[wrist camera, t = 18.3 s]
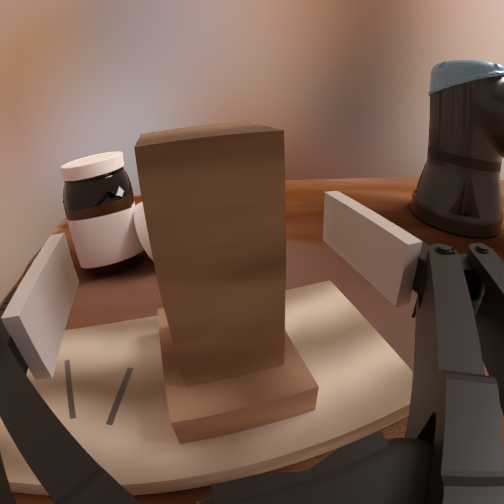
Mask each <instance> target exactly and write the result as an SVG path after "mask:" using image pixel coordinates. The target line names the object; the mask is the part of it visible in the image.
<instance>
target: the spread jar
mask: <svg viewBox="0 0 504 504" xmlns="http://www.w3.org/2000/svg"><path fill="white" fill-rule="evenodd" d="M123 167H124V160H123V154H122V152H120V151H116V152H106V153H101V154H95V155H91V156H87V157H83V158H80V159H77V160H74V161H71V162H69V163H66V164H64V165H62V166H61V167H60V168H61V173H62V178H63V181H64V182H65V185H64V189H63V204H64V209H65V213H66V217H67V221H68V225H69V229H70V233H71V237H72V240H73V244H74V248H75V251H76V255H77V258H78V261H79V263H80V266H81V268H82V270H83V271H84V272H86V273H88V274H92V275H109V274H114V273H117V272H120V271H123V270H125V269H127V268H129V267H131V266H132V265H134V264H135V263H136V262H137V261H138V260H139V259H140V258H141V257H142V255H143V248H144V250H145V252H146V253H147V254H148V256H149V257H150V258H151V259H152V260H153V256H152V251H151V246H150V241H149V236H148V231H147V225H146V220H145V214H144V208H143V202H141V203H139V204H137V205H136V206H135V200H134V195H133V190H132V186H131V182H130V179H129V177H128V175H127V173H126V172H125V170H124V169H123Z"/></svg>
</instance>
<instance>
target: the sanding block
mask: <svg viewBox="0 0 504 504" xmlns="http://www.w3.org/2000/svg"><path fill="white" fill-rule="evenodd" d="M135 155H136V163H137V170H138V177H139V184H140V190H141V196H142V202H143V208H144V214H145V220H146V225H147V231H148V236H149V241H150V246H151V251H152V256H153V261H154V266H155V271H156V275H157V280H158V284H159V289H160V293H161V297H162V301H163V306H164V308H158V309H157V313H158V325H159V337H160V347H161V356H162V365H163V374H164V382H165V389H166V397H167V404H168V411H169V417H170V423H171V425H172V428H173V430H174V432H175V434H176V436H177V439H178V441H179V443H180V444H183V443H188V442H194V441H199V440H204V439H209V438H214V437H219V436H224V435H228V434H232V433H237V432H241V431H245V430H249V429H253V428H257V427H260V426H264V425H268V424H271V423H275V422H278V421H282V420H285V419H289V418H292V417H295V416H298V415H301V414H304V413H308V412H311V411H314V410H315V408H316V402H317V396H318V389H319V386H318V384H317V383H316V381H315V379H314V378H313V376H312V374H311V373H310V371H309V369H308V368H307V366H306V364H305V363H304V361H303V359H302V358H301V356H300V354H299V353H298V351H297V349H296V347H295V346H294V344H293V342H292V341H291V339H290V337H289V336H288V334H287V332H286V331H285V288H286V220H285V160H284V159H285V156H284V130H280V129H275V128H271V127H267V126H262V125H258V124H253V123H249V122H237V123H225V124H215V125H204V126H196V127H187V128H180V129H173V130H165V131H158V132H152V133H146V134H141V135H140V137H139V139H138V141H137V143H136V145H135Z"/></svg>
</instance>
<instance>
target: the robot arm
mask: <svg viewBox="0 0 504 504" xmlns="http://www.w3.org/2000/svg"><path fill="white" fill-rule="evenodd" d="M429 96H430V125H429V141H428V155H427V162H426V164H425V167H424V169H423V171H422V174H421V176H420V179H419V182H418V185H417V188H416V189H415V190H414V192H413V195H412V202H411V211H412V212H413V214H414V215H415V216H416V217H418V218H419V219H420V220H422V221H424V222H426V223H427V224H429V225H432V226H434V227H436V228H439V229H442V230H444V231H448V232H451V233H455V234H459V235H463V236H469V237H481V238H484V237H492V236H495V235H497V234H499V233H500V230H501V226H502V222H503V204H502V193H501V184H500V170H501V162H502V158H503V157H504V67H503V66H501V65H499V64H495V63H491V62H485V61H476V60H453V61H445V62H441V63H438V64H437V65H435V66H434V67H433V68H432V71H431V81H430V92H429ZM323 241H324V242H325V243H326V244H328V245H329V246H330V247H331V248H332V249H333V250H334V251H335V252H336V253H338V254H339V255H340V256H341V257H342V258H343V259H344V260H345V261H346V262H348V263H349V264H350V265H351V266H352V267H353V268H354V269H355V270H356V271H357V272H359V273H360V274H361V275H362V276H363V277H364V278H365V279H366V280H367V281H368V282H369V283H370V284H371V285H373V286H374V287H375V288H376V289H377V290H378V291H379V292H380V293H381V294H382V295H383V296H384V297H385V298H386V299H387V300H388V301H390V302H391V303H392V304H393V305H394V306H395V307H397V306H400V305H403V304H406V303H409V301H410V297H411V293H412V289H413V290H414V291H415V292H416V293H417V294H418V296H417V300H416V304H415V308H414V311H413V315H412V317H415V315H416V330H415V353H414V368H413V380H412V391H411V400H410V409H409V416H408V424H407V430H406V434H405V437H404V438H393V439H385V437H384V436H383V435H382V433H381V432H380V430H379V431H377V432H375V433H373V434H370V435H368V436H366V437H364V438H361V439H359V440H357V441H354V442H352V443H349V444H347V445H344V446H342V447H341V448H340V449H338V450H337V451H335V452H334V453H332V454H331V455H329V456H328V457H326V458H325V459H323V460H322V461H320V462H319V463H317V464H316V465H314V466H313V467H311V468H309V469H308V470H305V471H300V472H290V473H277V474H258V475H251V476H247V477H243V478H239V479H235V480H230V481H225V482H220V483H215V484H210V488H211V492H212V495H210V496H208V497H206V498H204V499H202V500H200V501H198V502H197V503H195V504H504V455H503V431H502V418H501V409H502V411H503V414H504V262H503V260H502V259H501V258H500V257H499V256H498V255H497V254H496V252H495V251H494V250H493V249H491V248H490V247H488V246H487V245H486V244H483V243H472V244H470V245H469V248H468V252H467V254H458V252H457V251H456V250H455V249H454V248H453V247H451V246H448V245H446V244H439V243H435V244H431V245H428V244H427V243H425V242H424V241H422V240H420V239H419V238H417V237H416V236H413V234H411V233H409V232H407V231H406V230H405V229H403V228H401V227H400V226H397V225H395V224H394V223H392V222H390V221H389V220H387V219H385V218H384V217H382V216H380V215H379V214H377V213H375V212H374V211H372V210H370V209H368V208H367V207H365V206H363V205H362V204H360V203H358V202H356V201H355V200H353V199H351V198H349V197H348V196H346V195H344V194H342V193H340V192H339V191H330V192H325V195H324V223H323ZM78 285H79V280H78V277H77V274H76V271H75V268H74V264H73V261H72V258H71V255H70V251H69V248H68V244H67V241H66V237H65V233H60V234H55V235H51V236H50V237H49V239H48V240H47V242H46V243H45V245H44V246H43V248H42V249H41V251H40V252H39V254H38V255H37V257H36V258H35V260H34V262H33V263H32V265H31V266H30V268H29V270H28V271H27V273H26V275H25V276H24V278H23V280H22V281H21V283H20V285H19V286H18V288H15V289H14V290H13V291H12V292H11V293H10V294H9V295H8V296H7V298H6V299H5V301H4V304H3V305H2V306H1V308H0V417H1V419H2V421H3V423H4V425H5V427H6V429H7V431H8V432H9V434H10V436H11V438H12V439H13V441H14V443H15V445H16V446H17V448H18V450H19V451H20V453H21V455H22V456H23V458H24V459H25V461H26V463H27V464H28V466H29V467H30V469H31V470H32V472H33V473H34V475H35V476H36V478H37V479H38V480H39V482H40V483H41V485H42V486H43V487H44V489H45V490H46V492H47V493H48V494H49V496H50V497H51V498H52V500H53V501H54V502H55V504H142V503H141V502H140V501H138V500H137V499H136V498H135V497H134V496H133V495H131V494H130V493H129V492H128V491H127V490H126V489H125V488H124V487H123V486H121V485H120V484H119V483H118V482H117V481H116V480H115V479H114V478H113V477H112V476H111V475H110V474H109V473H108V472H107V471H106V470H105V469H104V468H102V467H101V466H100V465H99V464H98V463H97V462H96V461H95V460H94V459H93V458H92V457H91V456H90V455H89V454H88V453H87V451H86V450H85V449H84V448H83V447H82V446H81V445H80V444H79V443H78V441H77V440H76V439H75V438H74V437H73V436H72V435H71V433H70V432H69V431H68V430H67V429H66V427H65V426H64V425H63V424H62V423H61V421H60V420H59V419H58V418H57V416H56V415H55V414H54V413H53V411H52V410H51V409H50V407H49V406H48V405H47V403H46V402H45V401H44V399H43V398H42V397H41V395H40V394H39V393H38V391H37V390H36V388H35V387H34V386H33V384H32V383H31V381H30V380H29V378H28V377H27V375H26V374H27V371H28V368H29V370H30V372H31V373H32V375H33V376H34V378H35V380H38V379H51V378H53V375H54V370H55V366H56V362H57V357H58V353H59V349H60V346H61V342H62V338H63V334H64V331H65V327H66V323H67V320H68V317H69V313H70V310H71V307H72V303H73V300H74V297H75V294H76V291H77V288H78ZM483 293H484V295H483ZM482 359H483V360H482ZM483 362H484V364H485V366H486V369H487V371H488V374H489V376H485V374H484V367H483ZM500 406H501V408H500ZM0 504H16V503H15V500H14V497H13V494H12V491H11V488H10V485H9V482H8V478H7V475H6V472H5V468H4V465H3V461H2V457H1V453H0Z"/></svg>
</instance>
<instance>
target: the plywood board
mask: <svg viewBox="0 0 504 504" xmlns="http://www.w3.org/2000/svg"><path fill="white" fill-rule="evenodd" d="M285 331H286V332H287V334H288V336H289V337H290V339H291V341H292V342H293V344H294V346H295V347H296V349H297V351H298V353H299V354H300V356H301V358H302V359H303V361H304V363H305V364H306V366H307V368H308V369H309V371H310V373H311V374H312V376H313V378H314V379H315V381H316V383H317V384H318V386H319V389H318V396H317V402H316V408H315V410H314V411H311V412H308V413H304V414H301V415H298V416H295V417H292V418H289V419H285V420H282V421H278V422H275V423H271V424H268V425H264V426H260V427H257V428H253V429H249V430H245V431H241V432H237V433H232V434H228V435H224V436H219V437H214V438H209V439H204V440H199V441H194V442H188V443H183V444H180V443H179V441H178V439H177V436H176V434H175V432H174V430H173V428H172V425H171V423H170V417H169V411H168V404H167V397H166V389H165V382H164V374H163V365H162V356H161V347H160V337H159V325H158V315H157V316H152V317H146V318H140V319H134V320H128V321H122V322H116V323H110V324H103V325H97V326H90V327H84V328H77V329H70V330H65V331H64V334H63V338H62V342H61V346H60V349H59V353H58V357H57V362H56V366H55V370H54V375H53V378H51V379H38V380H35V378H34V376H33V375H32V373H31V372H30V370H29V368H28V371H27V374H26V375H27V377H28V378H29V380H30V381H31V383H32V384H33V386H34V387H35V388H36V390H37V391H38V393H39V394H40V395H41V397H42V398H43V399H44V401H45V402H46V403H47V405H48V406H49V407H50V409H51V410H52V411H53V413H54V414H55V415H56V416H57V418H58V419H59V420H60V421H61V423H62V424H63V425H64V426H65V427H66V429H67V430H68V431H69V432H70V433H71V435H72V436H73V437H74V438H75V439H76V440H77V441H78V443H79V444H80V445H81V446H82V447H83V448H84V449H85V450H86V451H87V453H88V454H89V455H90V456H91V457H92V458H93V459H94V460H95V461H96V462H97V463H98V464H99V465H100V466H101V467H102V468H104V469H105V470H106V471H107V472H108V473H109V474H110V475H111V476H112V477H113V478H114V479H115V480H116V481H117V482H118V483H119V484H120V485H121V486H123V487H124V488H125V489H126V490H127V491H128V492H129V493H130V494H131V495H145V494H155V493H164V492H172V491H179V490H186V489H192V488H198V487H204V486H209V485H210V484H215V483H220V482H225V481H230V480H235V479H239V478H243V477H247V476H251V475H258V474H261V473H265V472H269V471H272V470H276V469H279V468H282V467H286V466H289V465H292V464H295V463H298V462H301V461H304V460H307V459H310V458H313V457H316V456H318V455H321V454H324V453H326V452H329V451H332V450H334V449H337V448H339V447H342V446H344V445H347V444H349V443H352V442H354V441H356V440H359V439H361V438H363V437H365V436H368V435H370V434H372V433H374V432H376V431H379V430H381V429H383V428H385V427H387V426H389V425H391V424H393V423H395V422H397V421H399V420H401V419H403V418H405V417H407V416H409V409H410V400H411V391H412V380H413V371H412V370H411V369H410V368H409V367H408V366H407V365H406V363H405V362H404V361H403V360H402V359H401V358H400V357H399V355H398V354H397V353H396V352H395V351H394V350H393V349H392V348H391V346H390V345H389V344H388V343H387V342H386V341H385V340H384V339H383V338H382V336H381V335H380V334H379V333H378V332H377V331H376V330H375V329H374V328H373V326H372V325H371V324H370V323H369V322H368V321H367V320H366V319H365V318H364V317H363V316H362V314H361V313H360V312H359V311H358V310H357V309H356V308H355V307H354V306H353V305H352V304H351V302H350V301H349V300H348V299H347V298H346V297H345V296H344V295H343V294H342V293H341V292H340V291H339V290H338V288H337V287H336V286H335V285H334V284H333V283H332V282H331V281H330V280H329V281H324V282H320V283H316V284H311V285H307V286H302V287H298V288H293V289H289V290H285ZM0 453H1V457H2V461H3V465H4V468H5V472H6V475H7V478H8V482H9V485H10V488H11V491H12V492H18V493H26V494H35V495H47V496H49V494H48V493H47V492H46V490H45V489H44V487H43V486H42V485H41V483H40V482H39V480H38V479H37V478H36V476H35V475H34V473H33V472H32V470H31V469H30V467H29V466H28V464H27V463H26V461H25V459H24V458H23V456H22V455H21V453H20V451H19V450H18V448H17V446H16V445H15V443H14V441H13V439H12V438H11V436H10V434H9V432H8V431H7V429H6V427H5V425H4V423H3V421H2V419H1V417H0Z"/></svg>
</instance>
